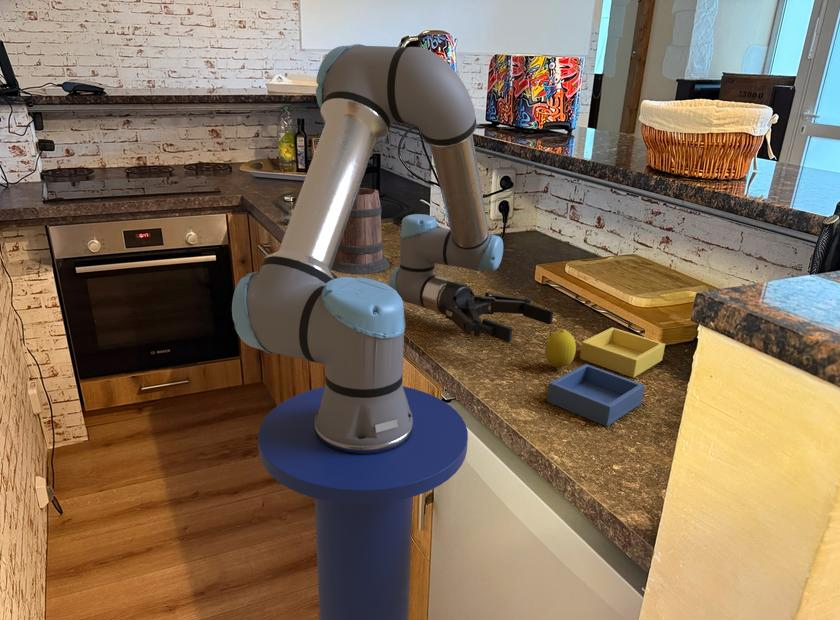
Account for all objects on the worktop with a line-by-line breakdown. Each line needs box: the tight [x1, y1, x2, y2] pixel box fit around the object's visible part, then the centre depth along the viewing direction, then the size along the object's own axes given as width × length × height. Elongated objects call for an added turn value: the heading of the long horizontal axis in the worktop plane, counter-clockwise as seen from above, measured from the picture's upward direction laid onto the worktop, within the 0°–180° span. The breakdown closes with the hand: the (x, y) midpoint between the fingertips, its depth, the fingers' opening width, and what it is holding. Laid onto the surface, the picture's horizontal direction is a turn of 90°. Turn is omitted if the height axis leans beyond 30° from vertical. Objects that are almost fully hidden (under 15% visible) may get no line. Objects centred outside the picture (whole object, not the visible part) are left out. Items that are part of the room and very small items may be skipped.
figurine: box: [282, 205, 294, 226], centre depth 225 cm, size 5×4×6 cm
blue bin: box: [546, 363, 646, 427], centre depth 116 cm, size 12×12×4 cm
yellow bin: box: [579, 326, 666, 379], centre depth 133 cm, size 12×12×4 cm
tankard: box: [331, 187, 391, 275], centre depth 185 cm, size 24×17×20 cm
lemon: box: [545, 328, 577, 370], centre depth 127 cm, size 6×6×8 cm
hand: (531, 326), depth 131 cm, fingers open, 13 cm apart
